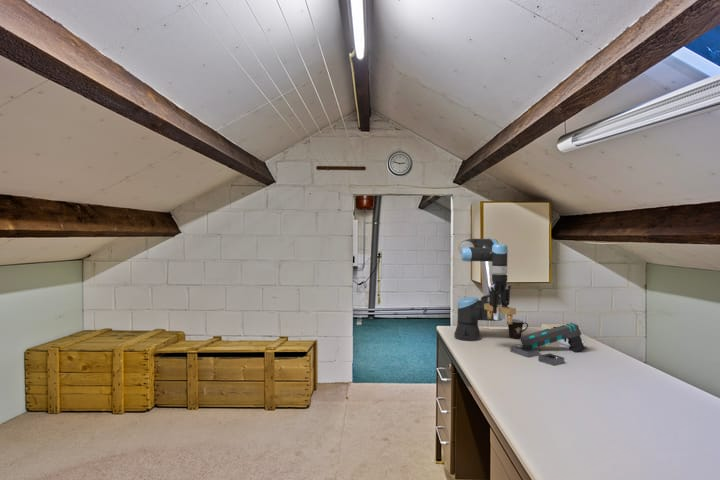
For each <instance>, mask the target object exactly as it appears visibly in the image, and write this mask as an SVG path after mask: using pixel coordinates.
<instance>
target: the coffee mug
mask: <svg viewBox="0 0 720 480" xmlns="http://www.w3.org/2000/svg"><path fill="white" fill-rule="evenodd" d="M524 324H526V327H525V328H524V329H523V327H524V326H523V325H524ZM528 328H529V324H528V323H527V322H524V321H523V320H522V319H516V318H515V319H514V318H513V324H507V329H508V336H509V338H510V339H512V340H521V339H520V338H521V337H522V336H523V335H522V333H523V332H525V331H526V330H527V329H528Z"/></svg>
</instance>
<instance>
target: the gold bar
mask: <svg viewBox="0 0 720 480" xmlns="http://www.w3.org/2000/svg"><path fill="white" fill-rule="evenodd" d="M497 307H499V313H503V314H505V315H506V318H507V319H506V324H507V325H508V324H513V319H514V318H513V317H514V316H515V315H516V314H517V308H516V307H512V306H502V305H497ZM484 309H485V310H487V319H492V311H493V307H492V306H490V303H486V304H484Z"/></svg>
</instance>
